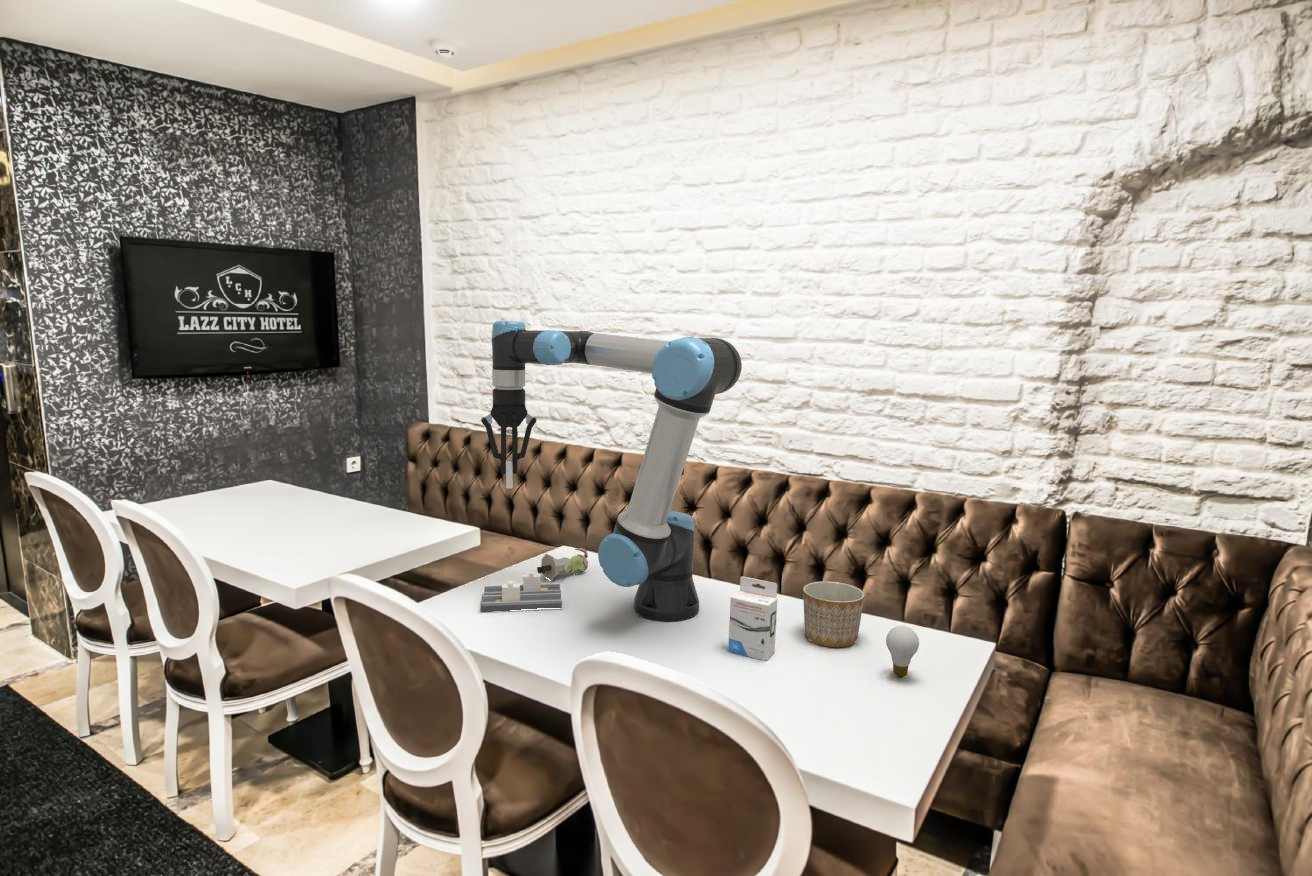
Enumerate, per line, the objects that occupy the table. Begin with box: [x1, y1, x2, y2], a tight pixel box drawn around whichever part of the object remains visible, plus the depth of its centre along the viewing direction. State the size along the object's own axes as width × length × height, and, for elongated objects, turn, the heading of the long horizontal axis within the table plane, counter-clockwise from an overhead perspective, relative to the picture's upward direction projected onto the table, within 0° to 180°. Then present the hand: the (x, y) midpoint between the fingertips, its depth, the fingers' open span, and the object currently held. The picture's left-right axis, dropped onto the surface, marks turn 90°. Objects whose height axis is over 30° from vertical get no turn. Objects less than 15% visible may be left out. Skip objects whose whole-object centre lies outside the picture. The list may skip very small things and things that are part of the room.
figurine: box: [536, 547, 589, 581], centre depth 196 cm, size 9×7×15 cm
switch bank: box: [481, 582, 563, 613], centre depth 177 cm, size 18×12×2 cm, turn 99°
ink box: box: [727, 575, 778, 662], centre depth 151 cm, size 8×5×15 cm, turn 60°
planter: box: [802, 580, 865, 648], centre depth 159 cm, size 13×13×10 cm
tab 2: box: [522, 569, 541, 591], centre depth 180 cm, size 4×2×4 cm, turn 99°
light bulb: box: [885, 625, 920, 679], centre depth 142 cm, size 6×6×10 cm
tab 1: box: [501, 580, 521, 602], centre depth 173 cm, size 4×2×4 cm, turn 99°
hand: (509, 487), depth 178 cm, fingers closed
